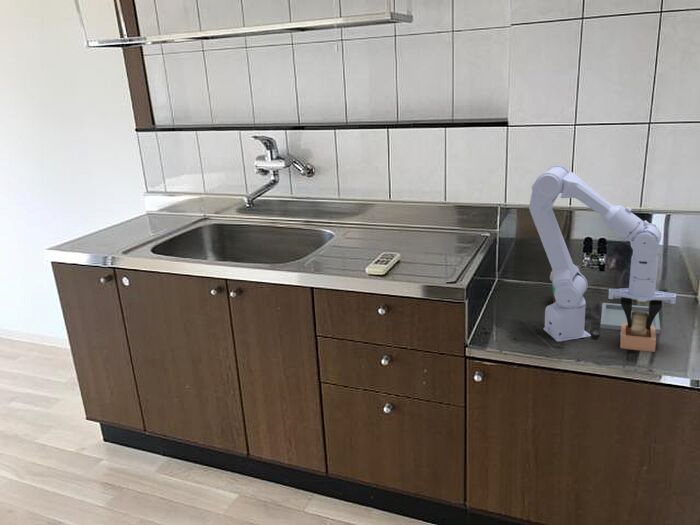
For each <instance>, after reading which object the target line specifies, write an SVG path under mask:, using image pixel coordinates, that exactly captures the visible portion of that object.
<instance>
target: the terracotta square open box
mask: <svg viewBox="0 0 700 525" xmlns="http://www.w3.org/2000/svg"><path fill="white" fill-rule="evenodd" d="M656 346H657V334H656V332H655V326H651V327H650V330H648V329H647V332H646V337H640V336H630V328H628V324H626V323H622V324H621V330H620V346H619V347H620V349H625V350H634V351H643V352H650V353H651V352H653V353H655V352H656Z"/></svg>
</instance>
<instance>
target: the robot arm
mask: <svg viewBox="0 0 700 525" xmlns="http://www.w3.org/2000/svg"><path fill="white" fill-rule="evenodd" d="M560 194H561V196H560V199H577V201H579V202H581V203H582V204H584V205H585V206H586V207H588V208H589V209H591V210H593V212H595V213H597V214H598V215H600V216H602V217H603V221H604V223H603V224H604V225H605V226H606V227H608V228H609V229H611V231H613V232H615V233H616V234H617V235H618V236H619V237H621V238H622V239H624V240H625V241H627V242H628V243H629V242H630V248H631V249H632V255H631V258H630V271H629V284H628V287H625V288H609V289H608V299H609V300H613V299H620V304H621V305H622V308H623V310H624V312H625V315H626V318H627V323H628V328H631V311H632V305H633V300H634V301H637V302H649V303H648V307H649V313H648V321H647V329H648V330H650V327H651V324H652V322H653V320H654V318H655V316H656V315H657V313H658V312H659V313H660V310H661V309H662V308H663V303H669V304H671V305H676V300H677V295H676V294H677V293H675V292H666V291H661V290H658V289H657V290H656V288H657V286H656V285H657V277H658V276H657V275H658V268H659V267H658V266H659V247H660V242H661V240H662V232H661V230H660V229H659V228H658V227H657V225H656V224H654V223H649V221H647V220H646V219H645V220H643V219H642V218H640V217H638V216H637V215H636V214H634V213H633V212H631V211H632V208H631V207H629V205H628V206H626V207H625V206H623V205H621V204H620V205H619V204H617V205H614V204H612V203H611V202H609V201H608V200H607V199H605V198H604V197H603V196H602V195H600V194H599V192H597V191H595V190H594V188H592V187H591V186H590V185H589V184H587V183H586V182H585V181H583V180H582V179H581V178H580V177H579V176H578V175H577V174H576V173H574V172H572V171H569V170H568V169H567V168H566V167H564V166H563V165H559V164H557V165H553V166H551V167H549V168H547V170H546V171H545V172H544V173H541V174H540V175H539V176H537V178H536V180H535V181H534V183H533V184H532V186H531V195H530V196H531V197H530V201H529V206H528V208H529V212H530V214H531V218H532V220H533V224H534V225H535V228H536V231H537V232H538V235H539V237H540V238H539V239H540V241H541V243H542V247H543V249H544V251H545V253H546V257H547V259H548V262H549V264H550V266H551V271H552V270H553V284H554V287H555V293H554V296H555V299H556V302H555V303H551V304H549V305H547V306H546V307H545V310H544V327H543V330H544V331H545V332H546V333H547V334H548V335H549V336H551V338H553V339H554V340H555V341H556V342H563V341H565V342H566V341H570V340H577V339H581V338H587V337H591V336H592V335H591V334H590V332H588V331H586V330H585V320H586V305H587V304H586V302H587V301H586V299H585V297H584V293H586V291H587V290H588V288H589V287H588V285H589V284H588V280H587V279H586V277H585V276H584V274H582V273H581V272H580V271H581V270H580V271H579V269H578V267H577V266H578V265H577V266H575V264H574V262H573V259H572V257H571V255H570V251H569V249H568V247H567V244H566V241H565V239H564V236H563V234H562V231H561V229H560V226H559V223H558V220H557V217H556V214H555V213H554V209H553V206H554V203H555V202H556V200H557V198H558V197H559V195H560Z"/></svg>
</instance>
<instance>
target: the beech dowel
mask: <svg viewBox="0 0 700 525" xmlns="http://www.w3.org/2000/svg"><path fill="white" fill-rule="evenodd" d="M647 321H648V313H647V312H644V311H633V312H632V316H631V328H630V336H640V337H646V332H647Z"/></svg>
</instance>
